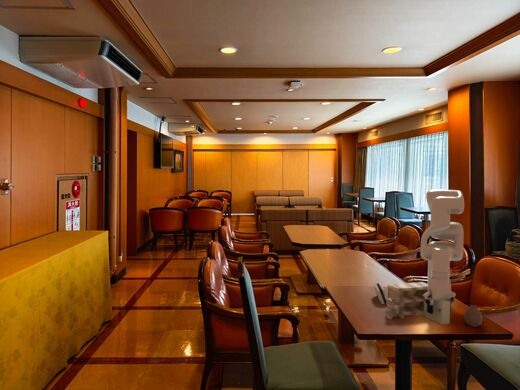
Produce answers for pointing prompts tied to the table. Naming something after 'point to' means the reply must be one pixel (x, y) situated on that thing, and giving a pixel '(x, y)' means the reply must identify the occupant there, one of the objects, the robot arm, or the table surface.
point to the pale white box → (439, 311)
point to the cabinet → (405, 299)
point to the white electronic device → (380, 292)
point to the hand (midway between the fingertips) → (438, 312)
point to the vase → (473, 316)
